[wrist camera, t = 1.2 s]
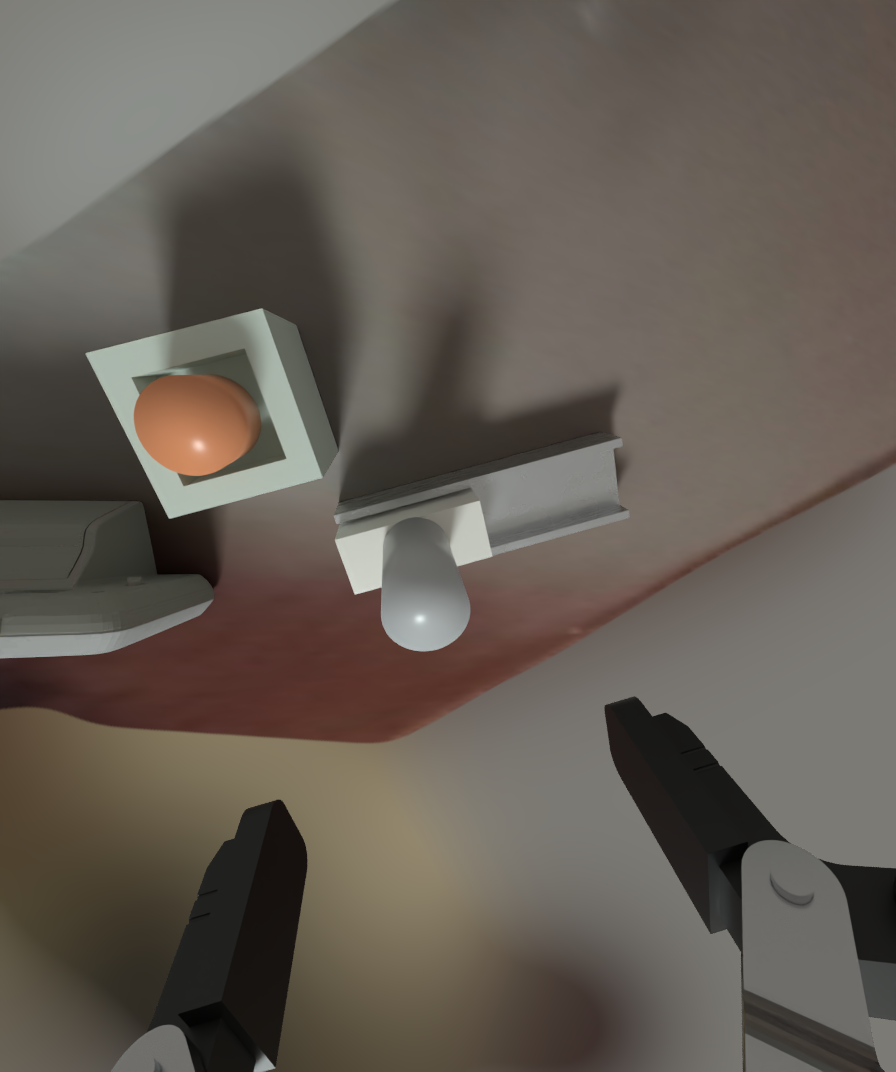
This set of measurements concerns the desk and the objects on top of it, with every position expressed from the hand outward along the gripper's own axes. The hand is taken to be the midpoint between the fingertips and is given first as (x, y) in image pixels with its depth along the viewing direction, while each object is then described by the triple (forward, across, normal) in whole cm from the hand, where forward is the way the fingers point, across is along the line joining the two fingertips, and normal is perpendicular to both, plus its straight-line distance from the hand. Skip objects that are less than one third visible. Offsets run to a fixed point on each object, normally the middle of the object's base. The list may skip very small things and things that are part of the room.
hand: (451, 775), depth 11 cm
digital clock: (+20, +20, -3) cm, 28 cm away
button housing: (+19, +6, -9) cm, 22 cm away
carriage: (+17, 0, 0) cm, 17 cm away
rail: (+19, -5, 0) cm, 20 cm away
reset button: (+13, +6, -9) cm, 17 cm away
